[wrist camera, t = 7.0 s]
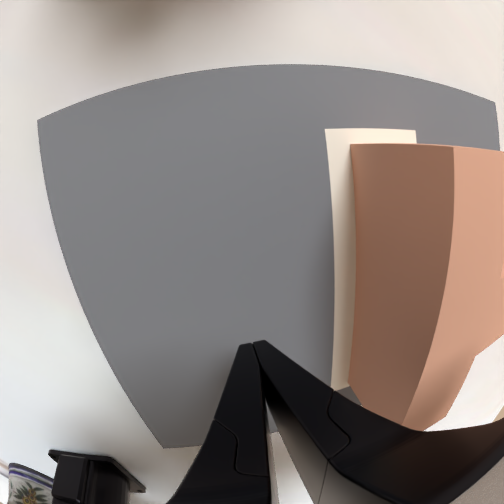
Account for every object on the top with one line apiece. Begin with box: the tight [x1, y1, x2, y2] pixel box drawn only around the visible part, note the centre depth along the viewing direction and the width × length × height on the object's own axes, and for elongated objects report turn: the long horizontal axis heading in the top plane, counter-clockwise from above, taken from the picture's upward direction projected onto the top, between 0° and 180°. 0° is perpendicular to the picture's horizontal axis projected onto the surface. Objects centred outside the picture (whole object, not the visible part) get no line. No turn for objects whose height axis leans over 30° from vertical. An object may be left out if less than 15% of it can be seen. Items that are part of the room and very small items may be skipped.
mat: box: [37, 64, 500, 448], centre depth 12 cm, size 18×23×1 cm
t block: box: [348, 143, 504, 431], centre depth 10 cm, size 12×10×5 cm
